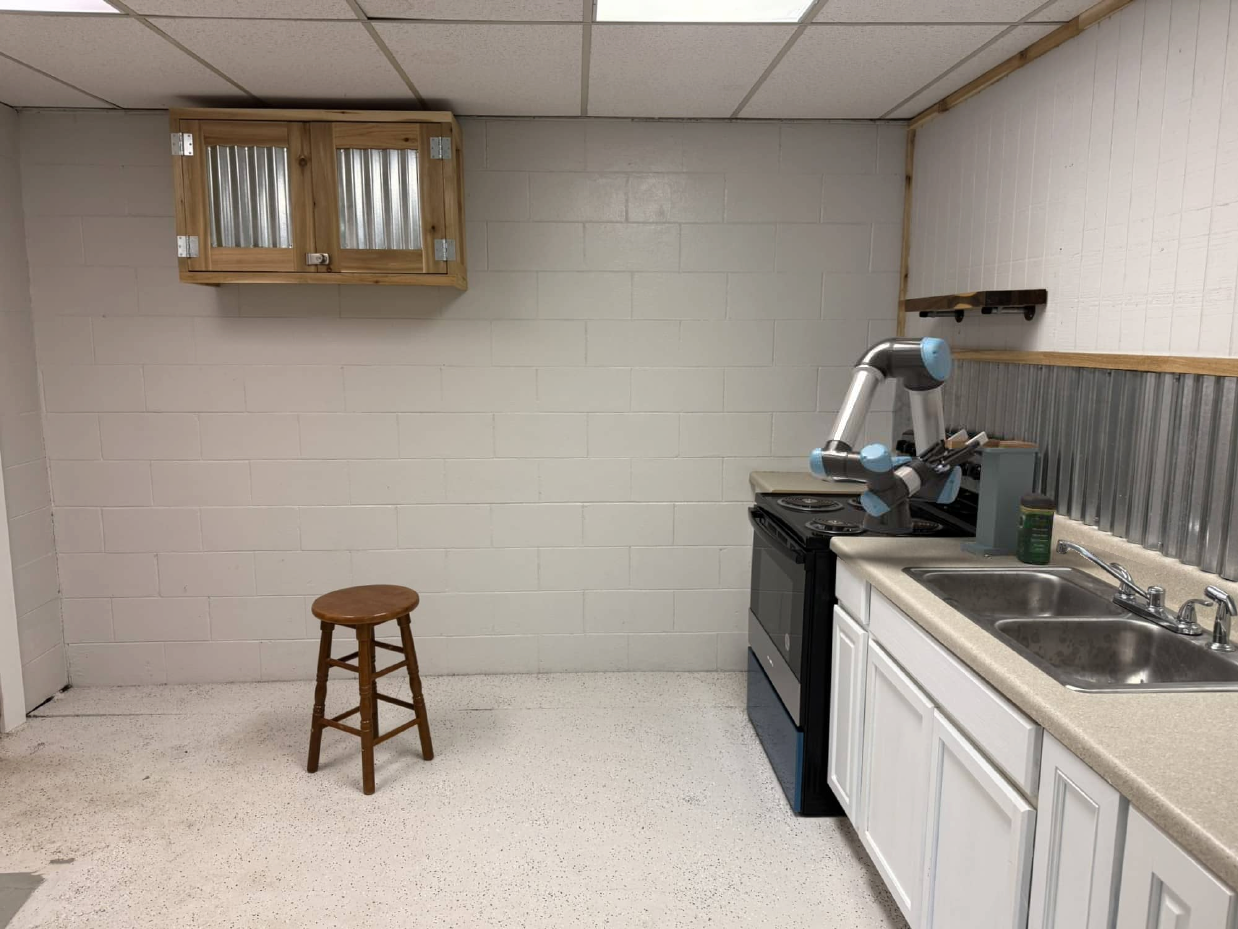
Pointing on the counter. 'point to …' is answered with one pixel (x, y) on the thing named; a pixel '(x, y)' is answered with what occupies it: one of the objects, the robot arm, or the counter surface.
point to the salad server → (991, 444)
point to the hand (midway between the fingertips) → (975, 434)
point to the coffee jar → (1035, 528)
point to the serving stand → (1001, 499)
